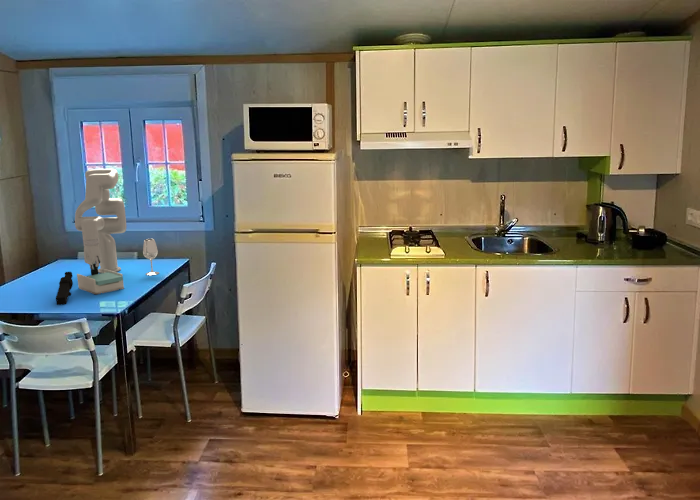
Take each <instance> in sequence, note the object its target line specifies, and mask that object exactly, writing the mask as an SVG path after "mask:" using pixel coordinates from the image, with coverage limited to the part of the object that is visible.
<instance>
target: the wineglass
mask: <svg viewBox="0 0 700 500" xmlns="http://www.w3.org/2000/svg"><path fill="white" fill-rule="evenodd" d="M142 249H143V250H142V253H143V256H144V257H145V258H146V259H148V260H149V261H150V268H151V270H150V272H146V273H145V276H156V275H159V274H160V272H159V271H154V269H153V260H154V259H155V258H156V257H157V255H158V252H159V251H158V247H157V242H156V241H155V239H154V238H145V239H144V240H143V247H142Z"/></svg>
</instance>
